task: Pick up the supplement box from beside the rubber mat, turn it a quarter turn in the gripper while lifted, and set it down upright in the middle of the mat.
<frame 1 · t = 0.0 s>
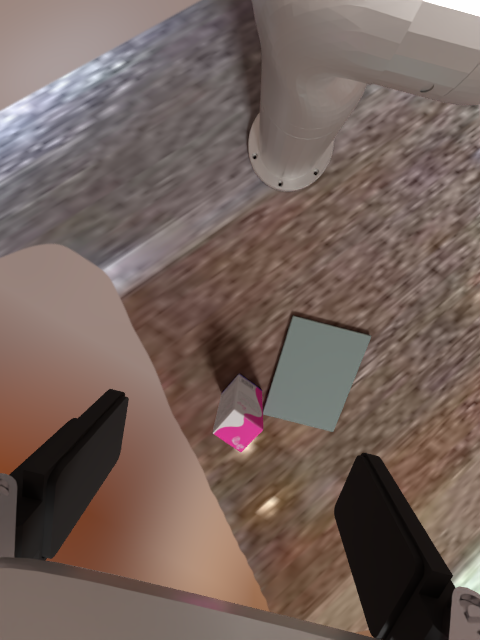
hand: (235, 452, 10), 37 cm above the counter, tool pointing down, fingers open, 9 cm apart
supplement box: (241, 391, 51), on the counter
rubber mat: (313, 375, 49), on the counter
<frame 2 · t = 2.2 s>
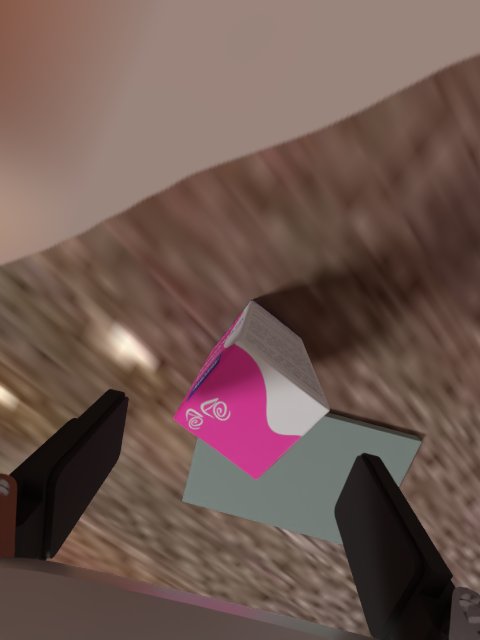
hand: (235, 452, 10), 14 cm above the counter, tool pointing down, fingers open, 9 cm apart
supplement box: (255, 340, 24), on the counter
rubber mat: (292, 467, 27), on the counter
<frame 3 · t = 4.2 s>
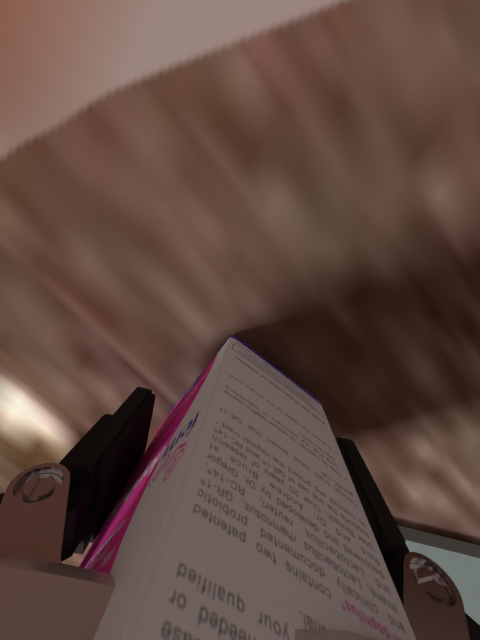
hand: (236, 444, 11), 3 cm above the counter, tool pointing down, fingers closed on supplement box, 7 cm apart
supplement box: (240, 402, 14), on the counter, touching gripper
rubber mat: (301, 593, 17), on the counter
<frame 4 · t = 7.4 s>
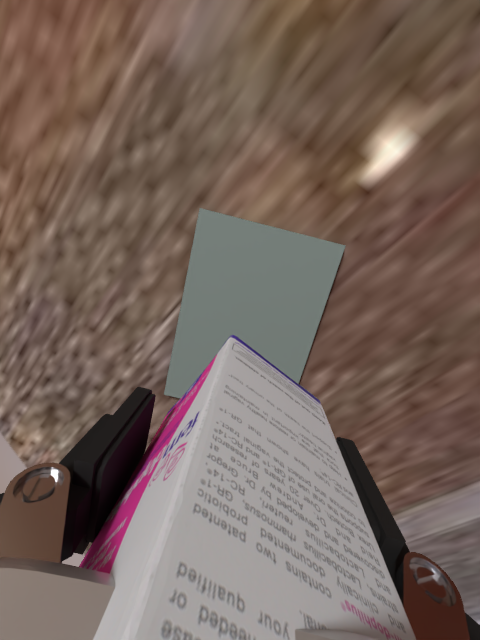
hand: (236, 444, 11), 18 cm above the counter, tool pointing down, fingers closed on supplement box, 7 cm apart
supplement box: (240, 402, 14), point 15 cm above the counter, touching gripper
rubber mat: (246, 324, 28), on the counter
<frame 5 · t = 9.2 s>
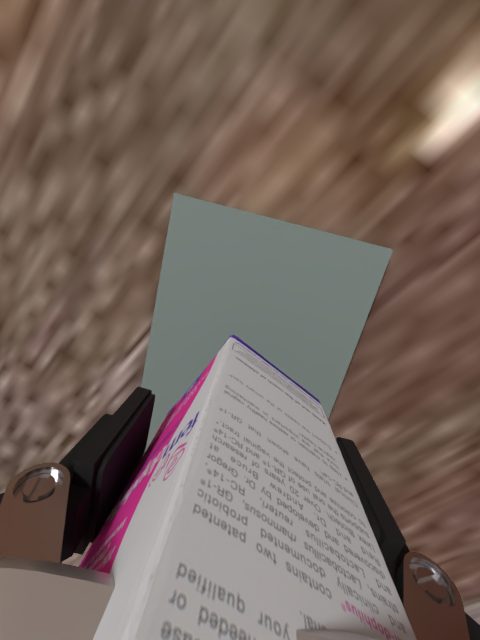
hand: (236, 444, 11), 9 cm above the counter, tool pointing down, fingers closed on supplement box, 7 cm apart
supplement box: (240, 402, 14), point 6 cm above the counter, touching gripper
rubber mat: (244, 361, 20), on the counter
when the fingers open (5 cm above the counter, at t = 11.0 s): supplement box drops 1 cm, resting on rubber mat.
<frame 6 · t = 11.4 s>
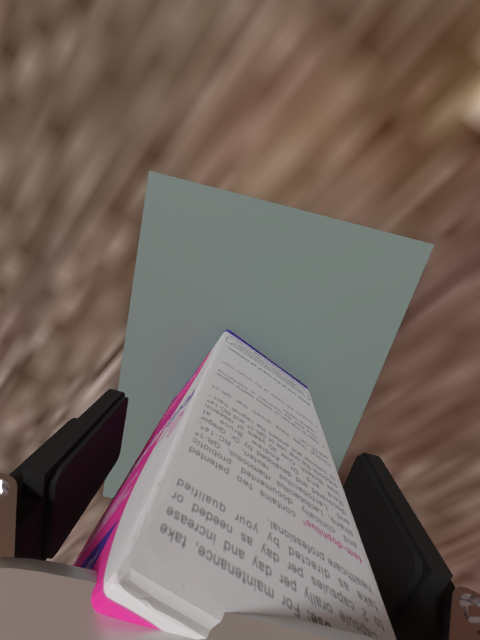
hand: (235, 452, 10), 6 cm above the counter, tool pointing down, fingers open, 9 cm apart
supplement box: (236, 391, 15), point 1 cm above the counter, touching rubber mat
rubber mat: (242, 384, 16), on the counter
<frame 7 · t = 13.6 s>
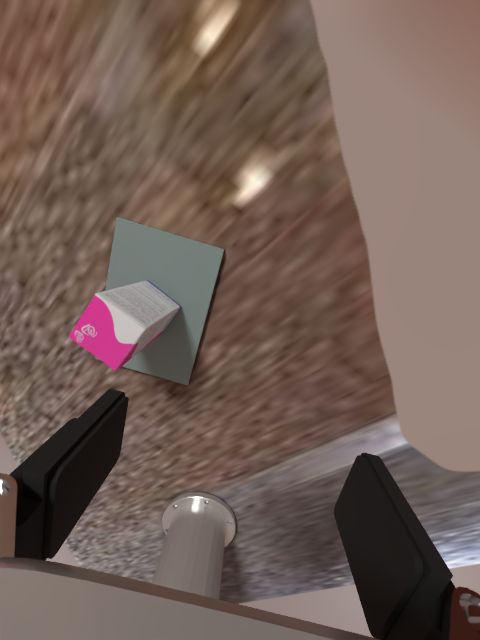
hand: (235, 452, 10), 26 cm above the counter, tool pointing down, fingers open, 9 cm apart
supplement box: (153, 308, 36), point 1 cm above the counter, touching rubber mat
rubber mat: (157, 306, 36), on the counter
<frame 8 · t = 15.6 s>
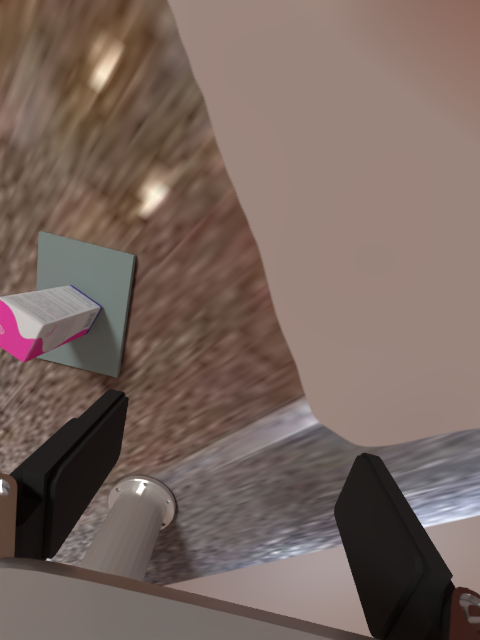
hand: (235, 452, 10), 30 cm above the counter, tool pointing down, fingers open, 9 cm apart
supplement box: (79, 309, 41), point 1 cm above the counter, touching rubber mat
rubber mat: (83, 308, 41), on the counter
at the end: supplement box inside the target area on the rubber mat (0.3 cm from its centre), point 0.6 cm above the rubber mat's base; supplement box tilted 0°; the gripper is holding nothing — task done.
